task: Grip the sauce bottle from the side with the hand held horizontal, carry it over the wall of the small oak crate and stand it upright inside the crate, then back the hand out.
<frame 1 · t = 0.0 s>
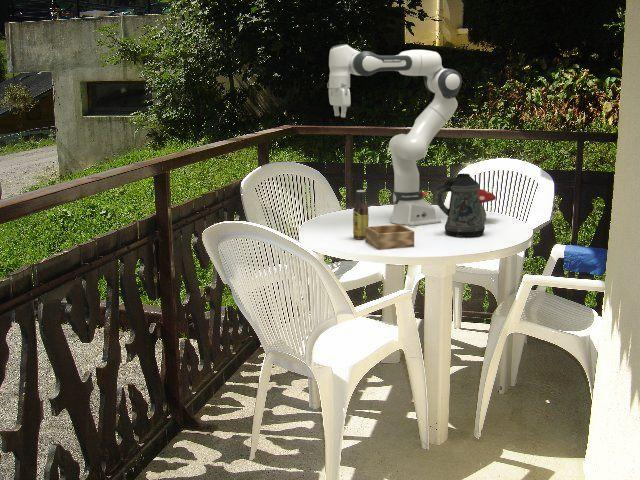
hand: (340, 116, 333), 48 cm above the table, tool pointing down, fingers open, 8 cm apart
decorative mushroom: (477, 222, 349), on the table
sauce bottle: (360, 238, 319), on the table
beer stein: (461, 234, 324), on the table
crate: (389, 244, 308), on the table
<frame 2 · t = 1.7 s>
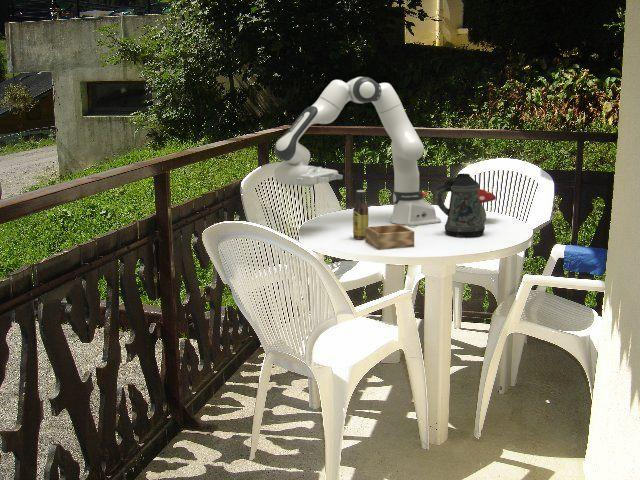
hand: (335, 178, 320), 24 cm above the table, tool horizontal, fingers open, 8 cm apart
nothing on the table moved.
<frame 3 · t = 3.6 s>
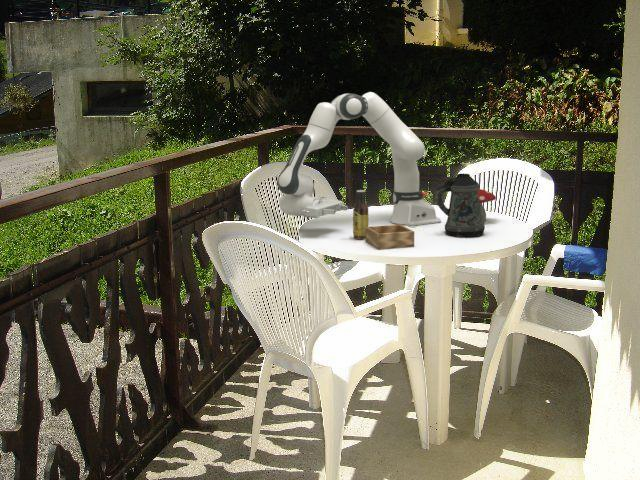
hand: (340, 210, 322), 11 cm above the table, tool horizontal, fingers open, 8 cm apart
nothing on the table moved.
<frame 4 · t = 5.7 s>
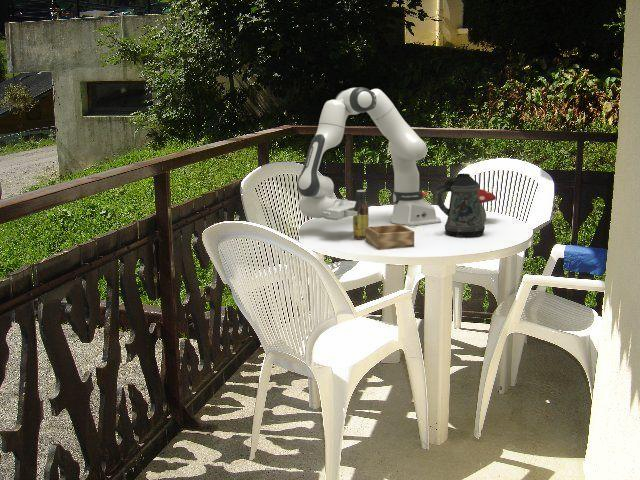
hand: (362, 212, 316), 11 cm above the table, tool horizontal, fingers closed on sauce bottle, 6 cm apart
sauce bottle: (360, 238, 319), on the table, touching gripper
everything else where it was.
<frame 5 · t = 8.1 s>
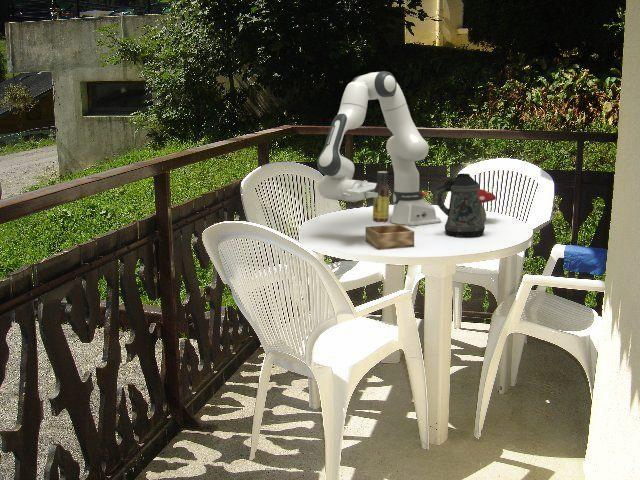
hand: (383, 193, 306), 20 cm above the table, tool horizontal, fingers closed on sauce bottle, 6 cm apart
sauce bottle: (380, 222, 309), point 8 cm above the table, touching gripper
everything else where it was.
when the fingers open (13 cm above the table, at t = 10.5 s): sauce bottle stays where it is, resting on crate.
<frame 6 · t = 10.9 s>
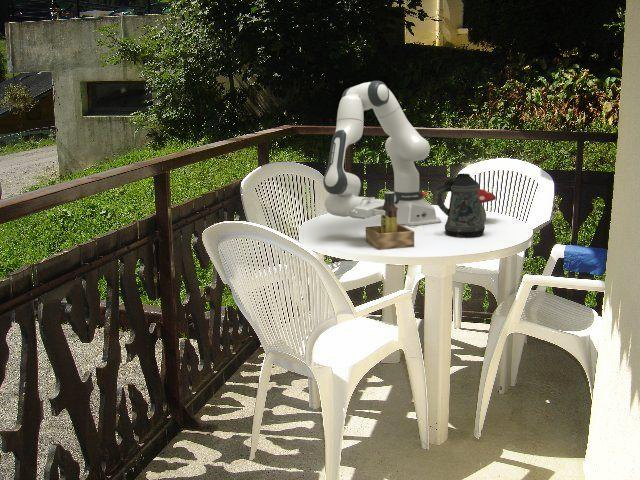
hand: (391, 210, 304), 13 cm above the table, tool horizontal, fingers open, 8 cm apart
sauce bottle: (388, 242, 308), point 1 cm above the table, touching crate
everything else where it was.
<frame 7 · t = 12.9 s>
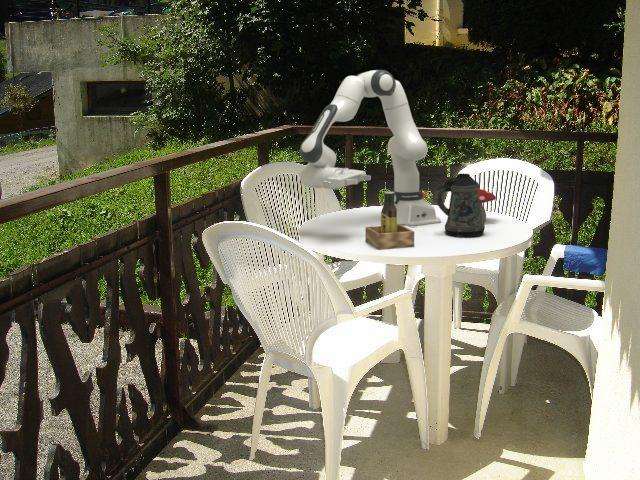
hand: (363, 179, 309), 25 cm above the table, tool horizontal, fingers open, 8 cm apart
nothing on the table moved.
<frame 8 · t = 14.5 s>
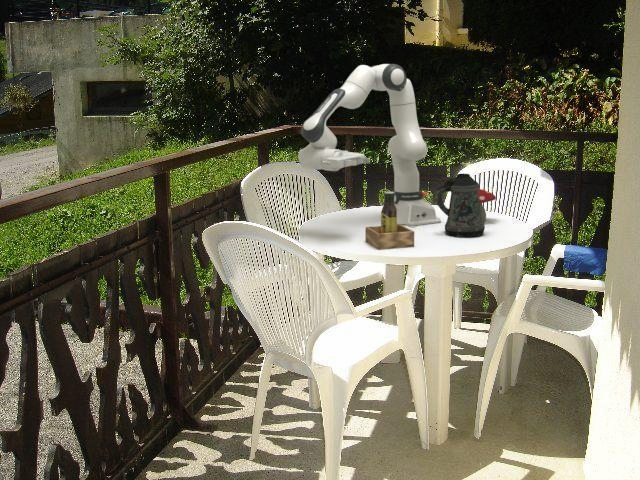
hand: (362, 161, 308), 32 cm above the table, tool horizontal, fingers open, 8 cm apart
nothing on the table moved.
at the end: sauce bottle inside the target area on the crate (0.3 cm from its centre), point 0.8 cm above the crate's base; sauce bottle tilted 0°; the gripper is holding nothing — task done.
